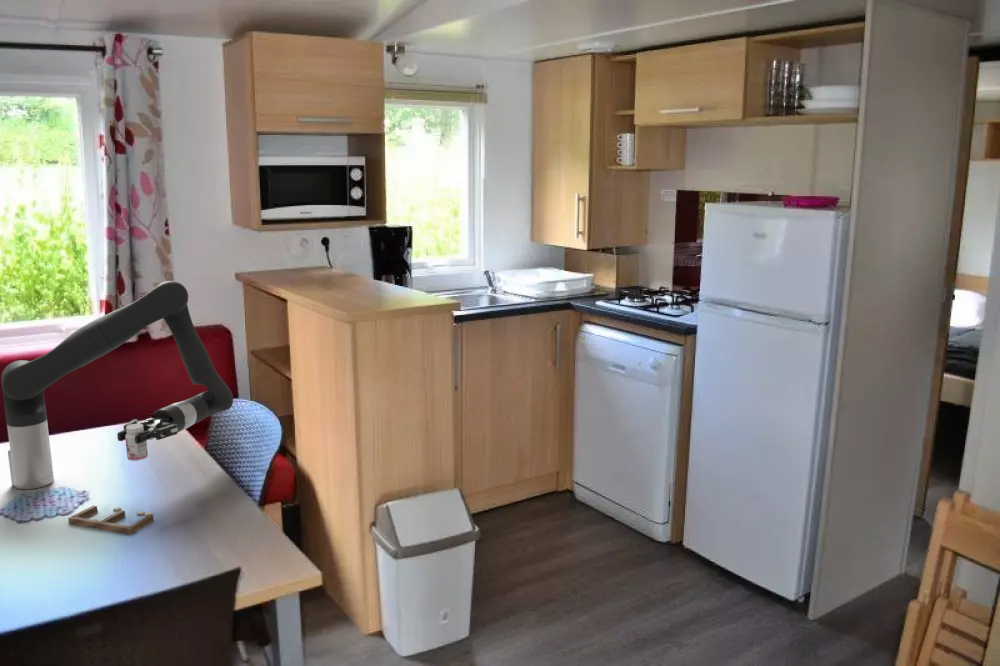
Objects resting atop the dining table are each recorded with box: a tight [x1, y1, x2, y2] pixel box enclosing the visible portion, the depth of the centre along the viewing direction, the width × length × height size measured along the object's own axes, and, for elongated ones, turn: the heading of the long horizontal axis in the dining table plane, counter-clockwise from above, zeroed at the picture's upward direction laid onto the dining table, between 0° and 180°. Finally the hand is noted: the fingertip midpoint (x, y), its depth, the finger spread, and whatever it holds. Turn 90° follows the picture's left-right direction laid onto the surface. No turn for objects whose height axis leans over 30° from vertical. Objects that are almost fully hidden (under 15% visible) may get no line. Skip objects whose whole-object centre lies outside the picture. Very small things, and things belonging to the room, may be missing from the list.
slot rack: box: [67, 505, 155, 536], centre depth 197 cm, size 18×11×2 cm, turn 71°
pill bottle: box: [124, 424, 149, 462], centre depth 205 cm, size 5×5×8 cm
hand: (127, 438), depth 202 cm, fingers closed on pill bottle, 4 cm apart
